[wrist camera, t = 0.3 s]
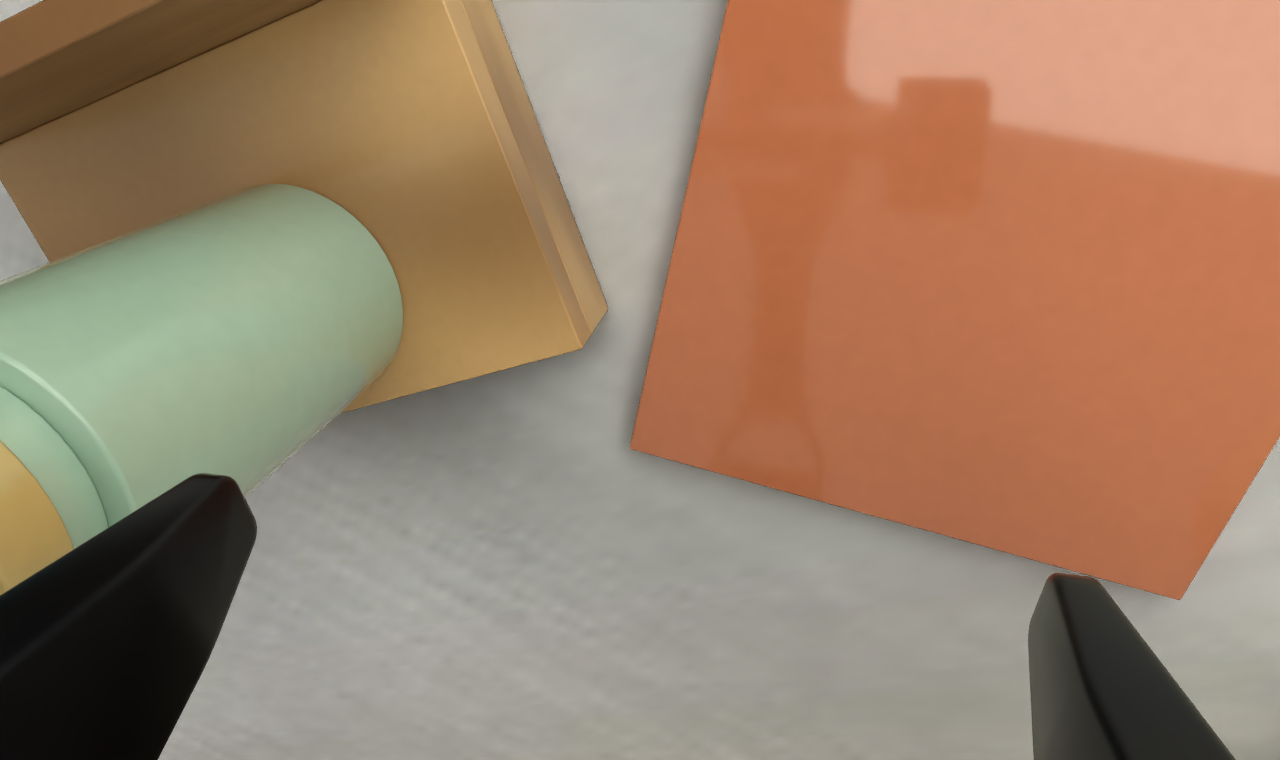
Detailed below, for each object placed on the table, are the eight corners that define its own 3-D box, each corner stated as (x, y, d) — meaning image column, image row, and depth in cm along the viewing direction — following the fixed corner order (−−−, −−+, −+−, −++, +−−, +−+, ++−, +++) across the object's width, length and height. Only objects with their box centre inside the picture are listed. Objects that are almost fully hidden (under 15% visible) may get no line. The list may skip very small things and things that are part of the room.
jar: (332, 436, 25) (-42, 785, 15) (161, 295, 25) (-371, 555, 14) (447, 295, 23) (95, 596, 12) (260, 132, 22) (-301, 297, 11)
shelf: (609, 309, 25) (504, 467, 17) (227, 415, 30) (3, 581, 22) (461, -80, 22) (244, -104, 14) (53, 106, 26) (-291, 168, 18)
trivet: (1171, 583, 26) (1180, 601, 25) (634, 436, 27) (628, 449, 26) (1528, -16, 18) (1556, -15, 18) (768, -171, 20) (766, -176, 19)
